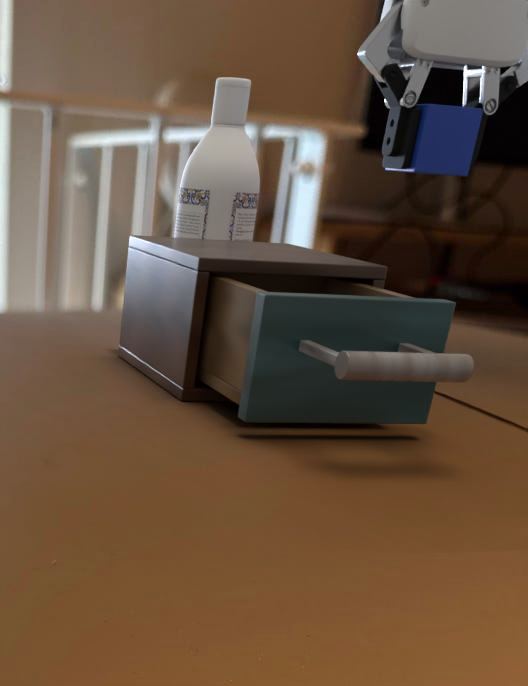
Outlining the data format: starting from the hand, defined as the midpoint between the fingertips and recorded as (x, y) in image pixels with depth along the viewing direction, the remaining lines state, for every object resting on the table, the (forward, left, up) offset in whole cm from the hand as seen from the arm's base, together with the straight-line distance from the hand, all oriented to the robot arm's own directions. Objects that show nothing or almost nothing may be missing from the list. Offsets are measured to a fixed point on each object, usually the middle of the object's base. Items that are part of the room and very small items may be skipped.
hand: (426, 168), depth 74 cm
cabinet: (+17, +9, -14) cm, 24 cm away
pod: (0, 0, 0) cm, 0 cm away
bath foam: (+11, -13, -15) cm, 23 cm away
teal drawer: (+17, +21, -13) cm, 30 cm away
